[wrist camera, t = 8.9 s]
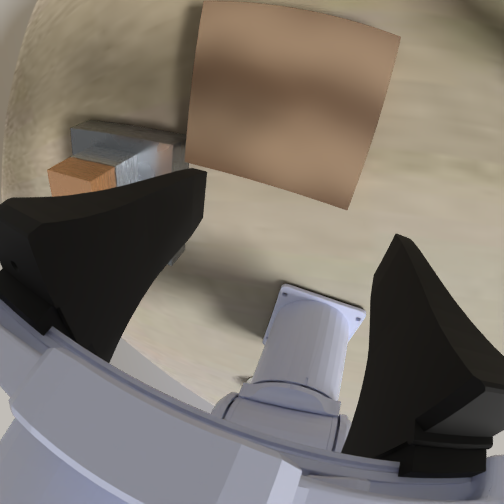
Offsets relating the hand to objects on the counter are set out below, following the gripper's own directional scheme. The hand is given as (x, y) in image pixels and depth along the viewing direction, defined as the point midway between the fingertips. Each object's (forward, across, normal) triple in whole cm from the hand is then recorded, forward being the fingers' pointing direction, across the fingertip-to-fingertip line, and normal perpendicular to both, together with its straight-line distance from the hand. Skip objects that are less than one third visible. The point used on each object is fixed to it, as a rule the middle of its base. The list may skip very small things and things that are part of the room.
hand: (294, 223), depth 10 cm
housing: (+7, +15, +7) cm, 18 cm away
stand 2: (+10, +3, -3) cm, 11 cm away
